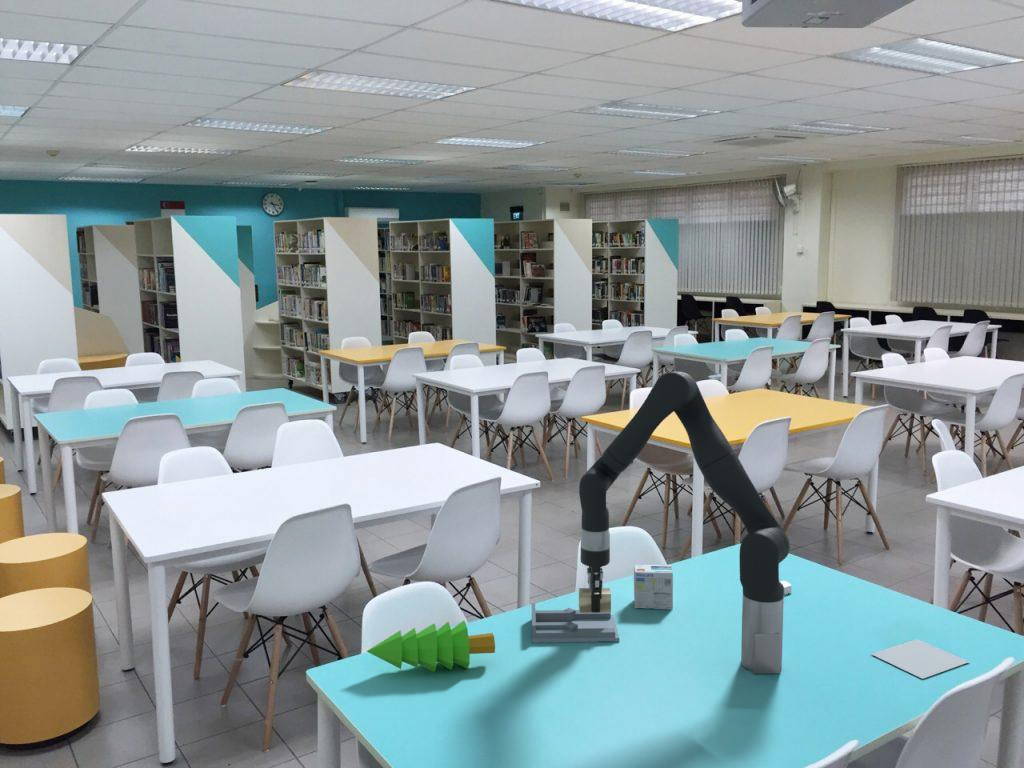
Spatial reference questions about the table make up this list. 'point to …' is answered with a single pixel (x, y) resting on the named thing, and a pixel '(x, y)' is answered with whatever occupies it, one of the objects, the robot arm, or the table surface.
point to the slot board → (572, 626)
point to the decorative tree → (434, 647)
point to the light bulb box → (653, 586)
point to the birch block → (586, 600)
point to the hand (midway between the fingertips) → (594, 608)
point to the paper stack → (920, 658)
